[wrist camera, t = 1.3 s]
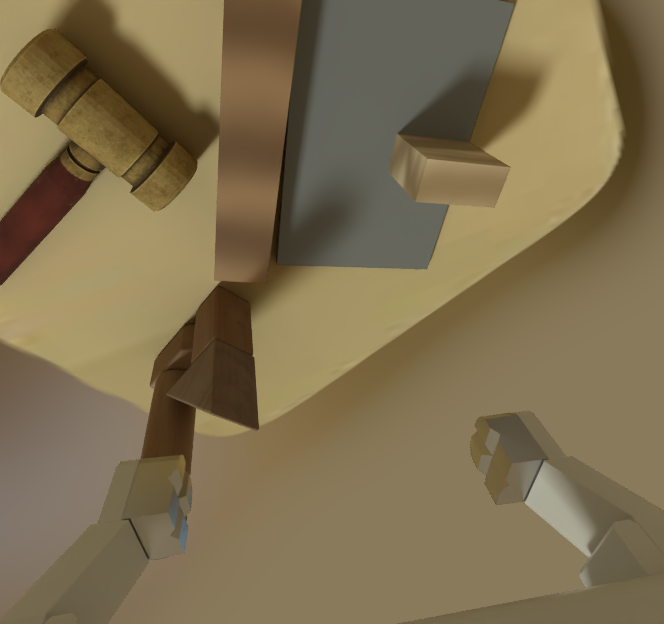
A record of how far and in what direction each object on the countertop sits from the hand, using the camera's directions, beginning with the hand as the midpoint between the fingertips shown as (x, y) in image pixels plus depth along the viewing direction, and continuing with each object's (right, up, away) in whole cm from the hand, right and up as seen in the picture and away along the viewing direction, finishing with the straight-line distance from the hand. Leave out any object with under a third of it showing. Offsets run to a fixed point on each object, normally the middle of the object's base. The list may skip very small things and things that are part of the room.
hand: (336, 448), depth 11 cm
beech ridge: (+7, +16, +20) cm, 27 cm away
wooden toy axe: (-12, +2, +27) cm, 30 cm away
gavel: (-21, +12, +18) cm, 30 cm away
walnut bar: (-6, +17, +18) cm, 25 cm away
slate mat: (+3, +16, +20) cm, 26 cm away
